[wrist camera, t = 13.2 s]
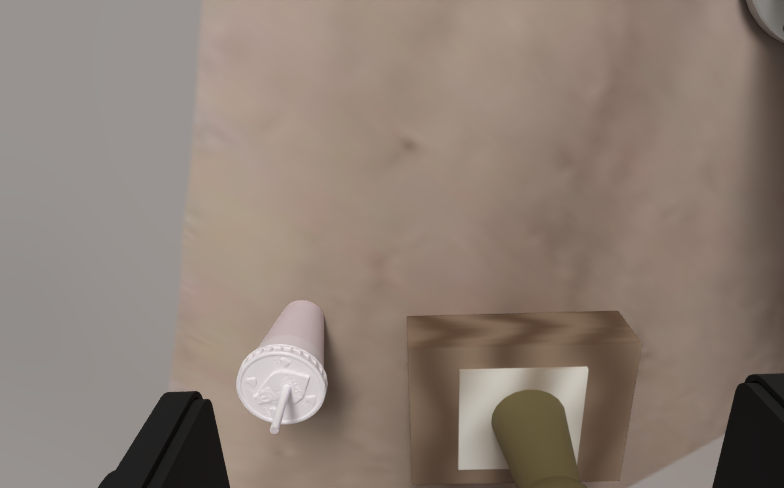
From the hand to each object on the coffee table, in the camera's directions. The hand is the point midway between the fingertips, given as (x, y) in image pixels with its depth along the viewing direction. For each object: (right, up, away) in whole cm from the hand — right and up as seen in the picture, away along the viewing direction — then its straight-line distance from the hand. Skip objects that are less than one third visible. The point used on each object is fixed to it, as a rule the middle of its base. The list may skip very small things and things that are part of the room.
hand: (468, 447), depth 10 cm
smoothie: (-9, -3, +38) cm, 39 cm away
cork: (+10, -11, +35) cm, 38 cm away
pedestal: (+9, -9, +40) cm, 42 cm away
